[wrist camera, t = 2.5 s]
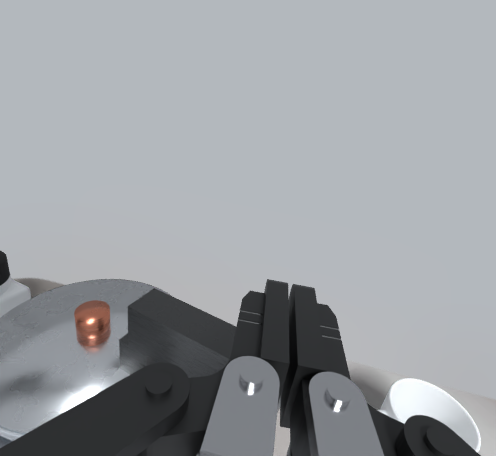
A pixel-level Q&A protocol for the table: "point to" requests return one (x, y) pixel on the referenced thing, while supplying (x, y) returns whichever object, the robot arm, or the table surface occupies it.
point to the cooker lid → (97, 346)
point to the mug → (430, 408)
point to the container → (10, 288)
